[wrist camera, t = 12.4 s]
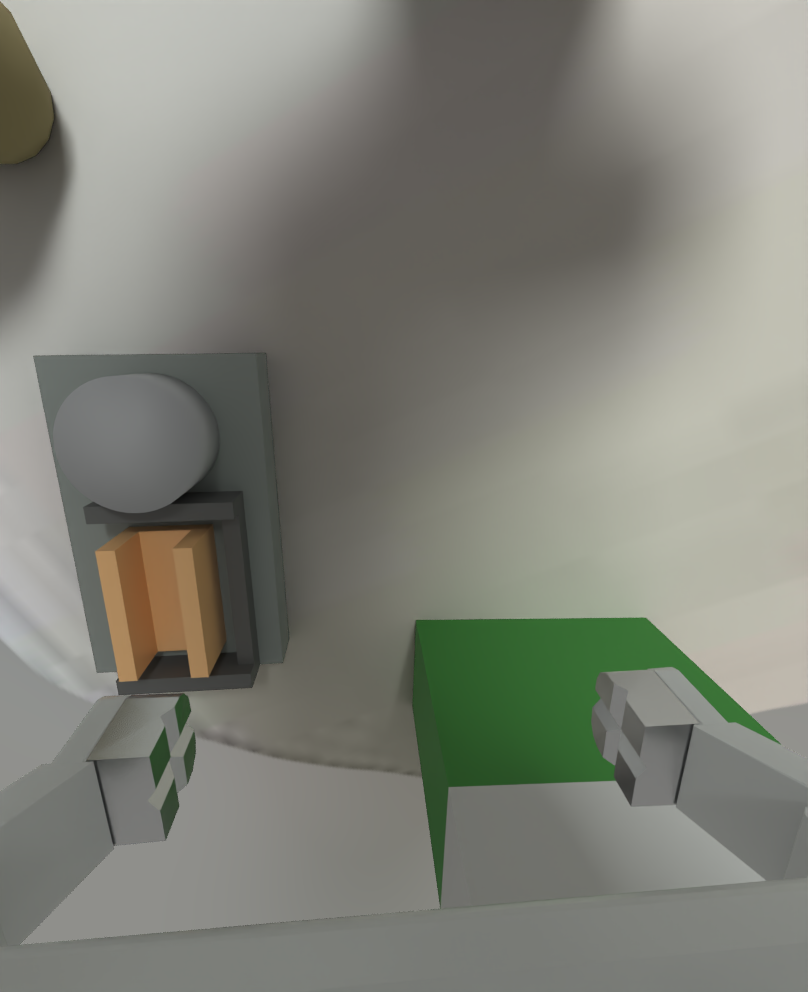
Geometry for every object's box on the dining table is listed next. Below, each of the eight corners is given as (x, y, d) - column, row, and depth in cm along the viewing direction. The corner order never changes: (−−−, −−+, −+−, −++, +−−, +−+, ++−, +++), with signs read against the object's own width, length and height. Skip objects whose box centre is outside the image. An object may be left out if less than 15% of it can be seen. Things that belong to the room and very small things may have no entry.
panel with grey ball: (64, 355, 31) (-20, 356, 24) (265, 353, 32) (239, 352, 25) (118, 647, 36) (61, 714, 29) (289, 638, 37) (272, 702, 30)
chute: (128, 526, 31) (95, 551, 27) (212, 524, 31) (191, 548, 27) (147, 643, 33) (119, 681, 29) (226, 639, 33) (208, 677, 29)
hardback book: (645, 617, 39) (1058, 1003, 16) (631, 700, 41) (979, 1152, 18) (416, 620, 37) (499, 1048, 14) (412, 705, 39) (481, 1204, 16)
